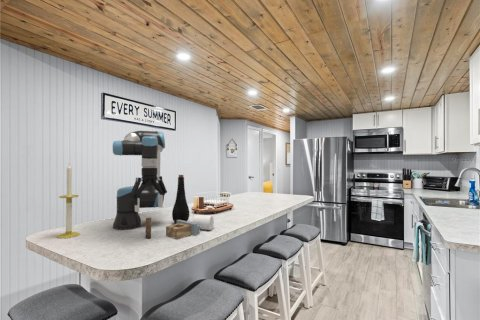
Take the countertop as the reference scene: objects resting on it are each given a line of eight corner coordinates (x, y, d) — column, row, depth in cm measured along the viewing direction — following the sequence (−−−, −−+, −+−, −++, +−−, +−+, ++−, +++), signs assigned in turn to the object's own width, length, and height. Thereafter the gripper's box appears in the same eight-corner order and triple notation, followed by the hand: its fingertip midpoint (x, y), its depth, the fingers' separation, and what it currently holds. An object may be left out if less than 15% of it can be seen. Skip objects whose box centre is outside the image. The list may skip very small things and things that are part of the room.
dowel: (144, 238, 128) (144, 218, 128) (149, 236, 130) (149, 217, 130) (147, 239, 126) (147, 218, 126) (152, 237, 128) (152, 217, 128)
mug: (209, 231, 140) (209, 217, 140) (192, 230, 142) (192, 216, 142) (215, 226, 151) (215, 213, 151) (199, 225, 153) (199, 212, 153)
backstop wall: (176, 231, 140) (176, 220, 140) (183, 229, 144) (183, 218, 144) (194, 235, 132) (194, 224, 132) (201, 233, 136) (201, 222, 136)
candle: (73, 238, 126) (73, 163, 126) (52, 238, 126) (52, 162, 126) (84, 232, 136) (84, 162, 136) (64, 232, 136) (65, 162, 136)
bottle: (192, 222, 160) (193, 174, 160) (180, 226, 151) (180, 175, 151) (180, 220, 165) (181, 174, 165) (168, 223, 157) (168, 175, 157)
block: (165, 235, 131) (166, 226, 131) (179, 231, 139) (179, 222, 139) (177, 239, 126) (177, 229, 126) (191, 234, 133) (191, 225, 133)
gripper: (130, 168, 115) (130, 214, 116) (173, 166, 136) (173, 206, 136) (121, 167, 120) (121, 212, 120) (164, 166, 140) (164, 204, 140)
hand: (149, 209), depth 128 cm, fingers open, 13 cm apart
